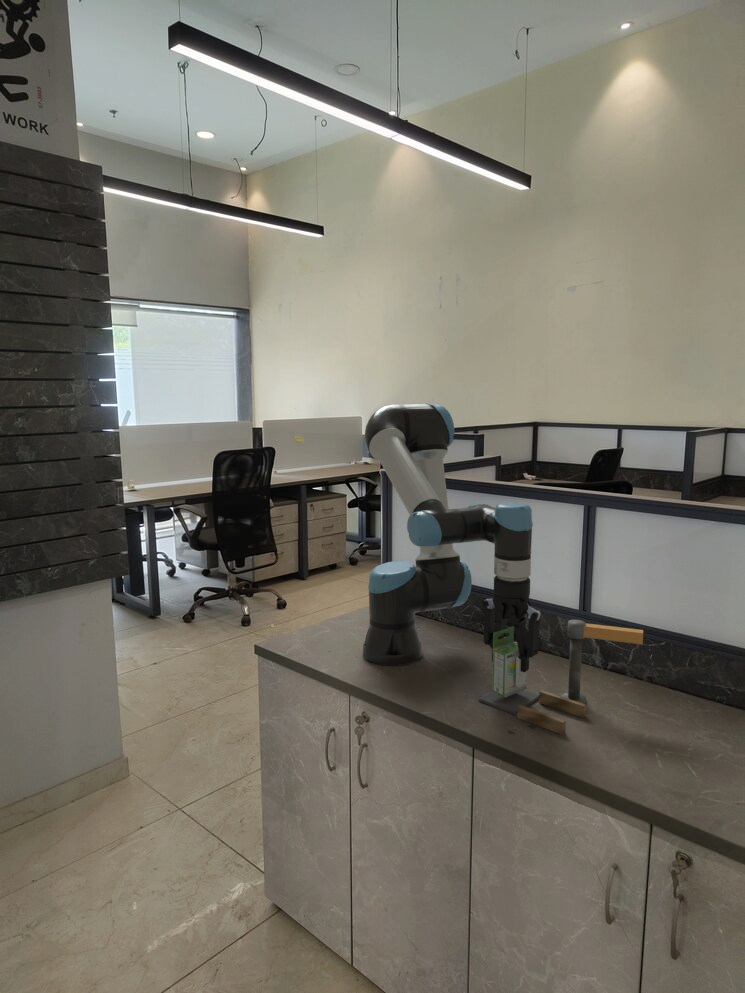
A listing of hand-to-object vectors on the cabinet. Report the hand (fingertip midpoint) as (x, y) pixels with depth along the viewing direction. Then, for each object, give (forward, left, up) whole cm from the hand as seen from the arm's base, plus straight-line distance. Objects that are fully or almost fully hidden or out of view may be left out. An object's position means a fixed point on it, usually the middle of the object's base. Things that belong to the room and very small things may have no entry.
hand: (509, 680), depth 138 cm
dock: (+11, +3, -4) cm, 12 cm away
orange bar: (+16, +11, +10) cm, 22 cm away
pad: (0, 0, -4) cm, 4 cm away
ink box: (0, 0, -2) cm, 2 cm away
